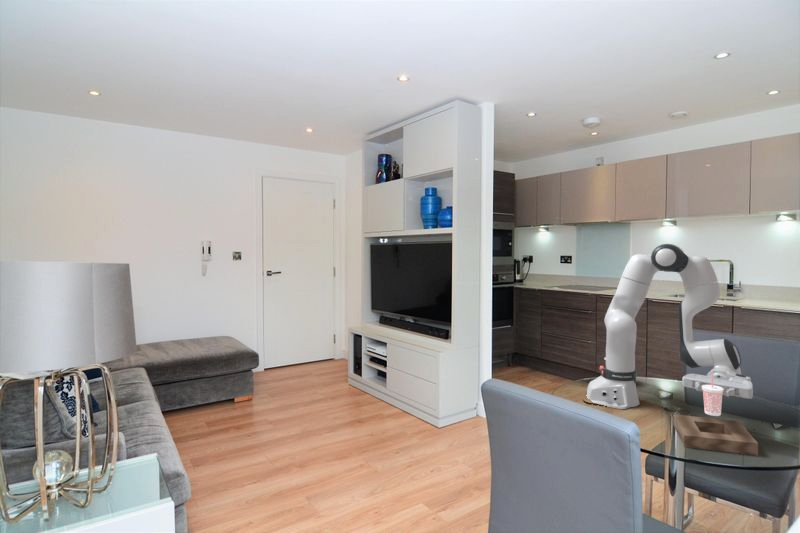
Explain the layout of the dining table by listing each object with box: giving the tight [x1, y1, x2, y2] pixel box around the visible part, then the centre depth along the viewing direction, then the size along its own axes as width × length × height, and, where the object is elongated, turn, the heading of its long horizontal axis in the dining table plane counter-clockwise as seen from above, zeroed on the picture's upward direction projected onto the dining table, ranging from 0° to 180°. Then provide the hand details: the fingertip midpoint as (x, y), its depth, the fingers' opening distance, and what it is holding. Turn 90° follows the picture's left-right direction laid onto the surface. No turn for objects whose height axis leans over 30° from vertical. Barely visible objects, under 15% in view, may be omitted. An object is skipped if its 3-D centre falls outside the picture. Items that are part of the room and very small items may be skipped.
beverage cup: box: [702, 373, 724, 417], centre depth 150 cm, size 6×6×14 cm
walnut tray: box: [672, 414, 759, 457], centre depth 151 cm, size 20×18×4 cm
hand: (711, 391), depth 149 cm, fingers closed on beverage cup, 6 cm apart
